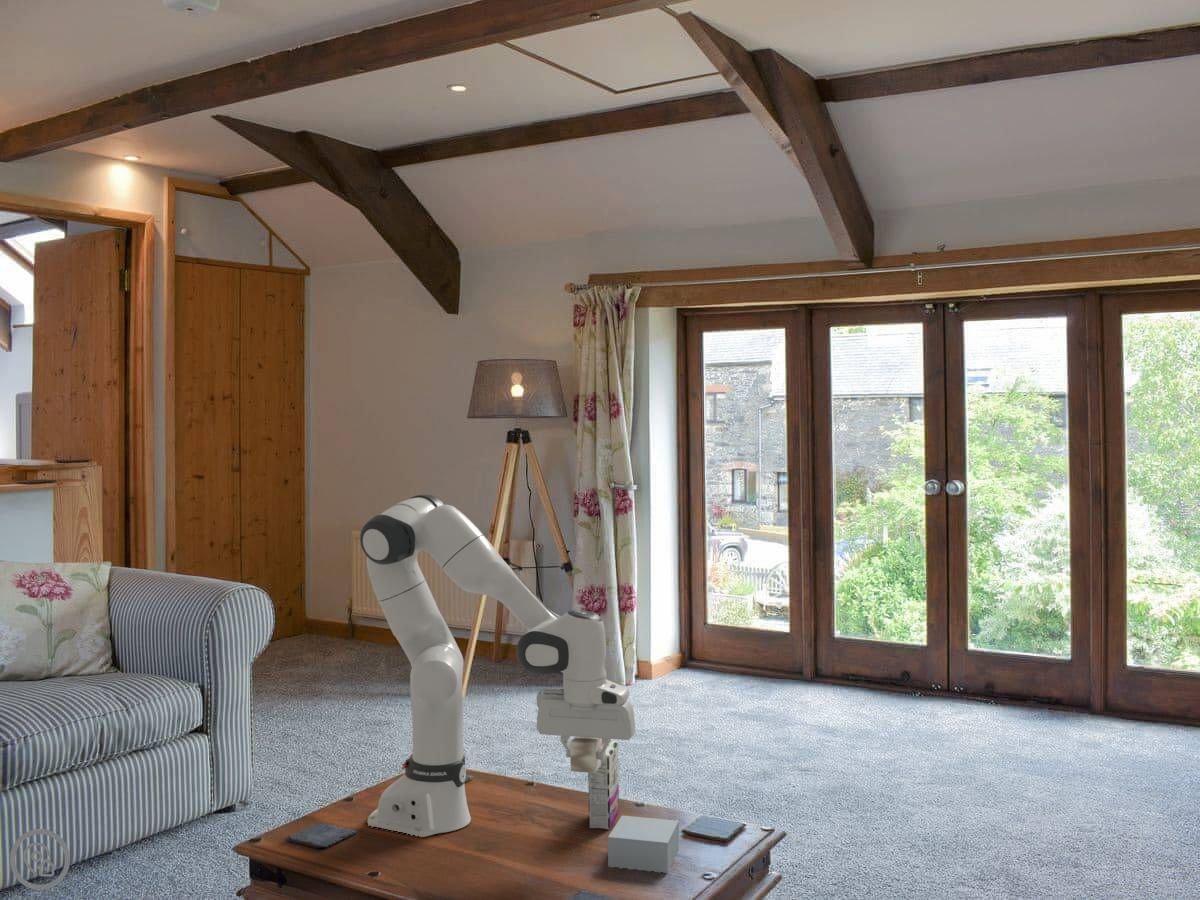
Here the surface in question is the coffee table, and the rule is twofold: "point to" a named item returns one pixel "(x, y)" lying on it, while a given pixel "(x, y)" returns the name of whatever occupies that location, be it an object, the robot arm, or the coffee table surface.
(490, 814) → the coffee table surface
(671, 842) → the slate block
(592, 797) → the candy bar box
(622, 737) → the robot arm
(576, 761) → the cream block
